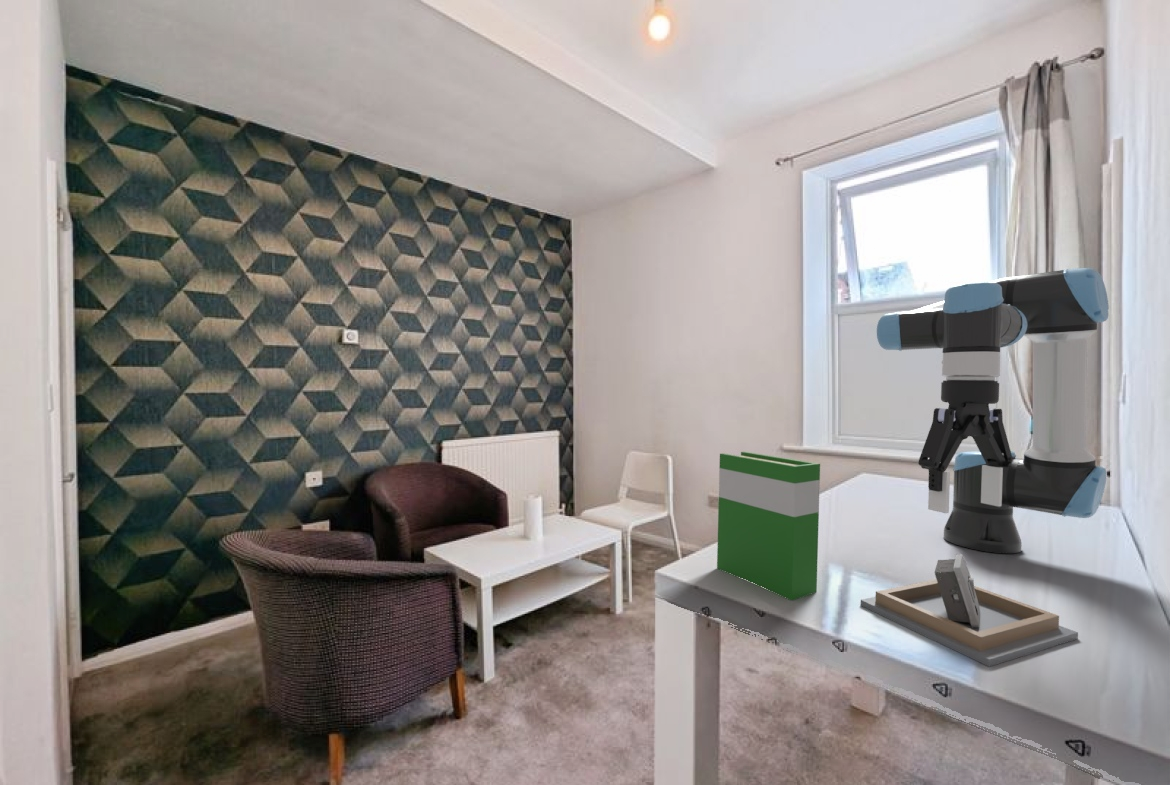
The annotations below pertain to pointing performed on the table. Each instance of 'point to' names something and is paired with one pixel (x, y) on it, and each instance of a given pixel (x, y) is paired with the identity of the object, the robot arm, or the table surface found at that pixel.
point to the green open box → (769, 522)
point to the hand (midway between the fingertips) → (965, 508)
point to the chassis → (1000, 630)
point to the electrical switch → (958, 590)
